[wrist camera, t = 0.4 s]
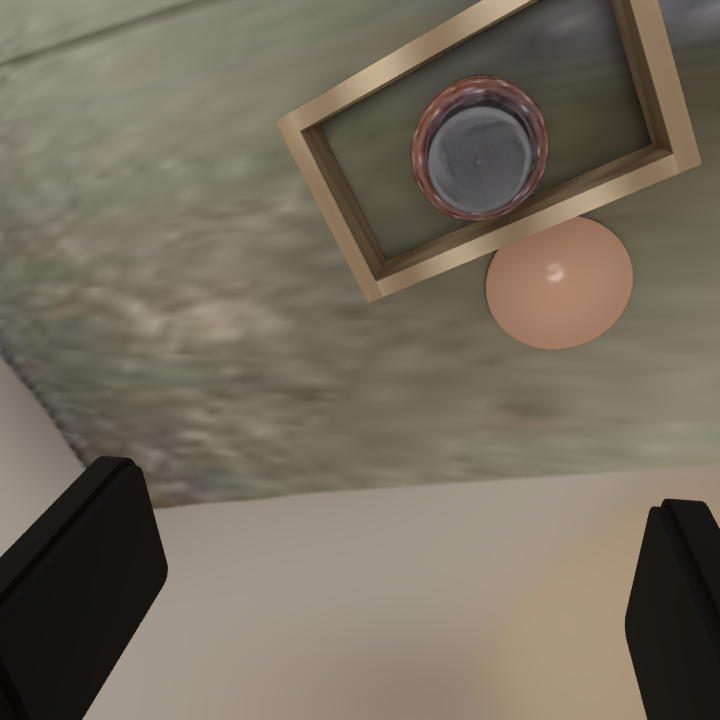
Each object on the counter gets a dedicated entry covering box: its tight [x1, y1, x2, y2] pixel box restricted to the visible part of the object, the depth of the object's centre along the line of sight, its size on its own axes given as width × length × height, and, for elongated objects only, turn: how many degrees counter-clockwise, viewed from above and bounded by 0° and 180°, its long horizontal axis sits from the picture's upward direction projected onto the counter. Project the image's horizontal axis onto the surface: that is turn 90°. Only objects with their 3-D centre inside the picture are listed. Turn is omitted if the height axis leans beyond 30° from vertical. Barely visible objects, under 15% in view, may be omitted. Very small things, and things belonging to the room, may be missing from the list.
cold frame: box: [275, 0, 702, 303], centre depth 30 cm, size 18×11×4 cm, turn 117°
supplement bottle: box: [411, 75, 549, 221], centre depth 27 cm, size 6×6×11 cm
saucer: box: [486, 215, 633, 349], centre depth 35 cm, size 8×8×1 cm
